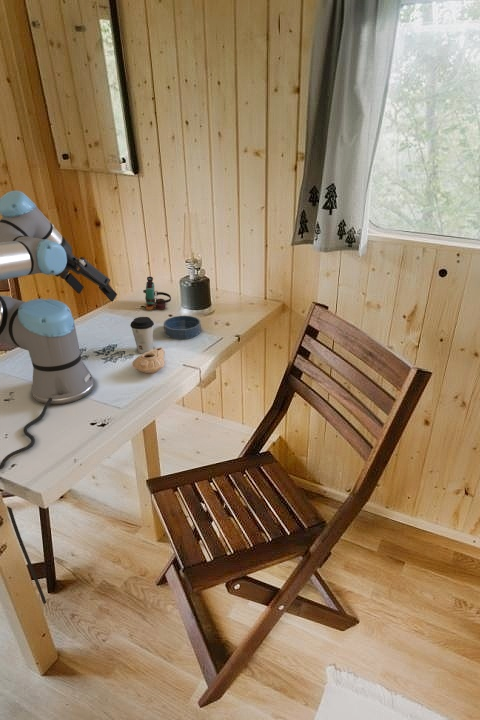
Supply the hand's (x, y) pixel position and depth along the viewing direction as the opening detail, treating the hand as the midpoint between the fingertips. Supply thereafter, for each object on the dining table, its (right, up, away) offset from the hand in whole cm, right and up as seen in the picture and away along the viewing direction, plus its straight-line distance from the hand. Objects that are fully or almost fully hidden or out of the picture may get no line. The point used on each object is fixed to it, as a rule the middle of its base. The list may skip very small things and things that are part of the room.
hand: (97, 293), depth 143 cm
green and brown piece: (+11, +3, +33) cm, 35 cm away
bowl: (+24, -10, +14) cm, 29 cm away
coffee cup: (+14, -17, +2) cm, 22 cm away
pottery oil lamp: (+19, -23, -8) cm, 31 cm away
